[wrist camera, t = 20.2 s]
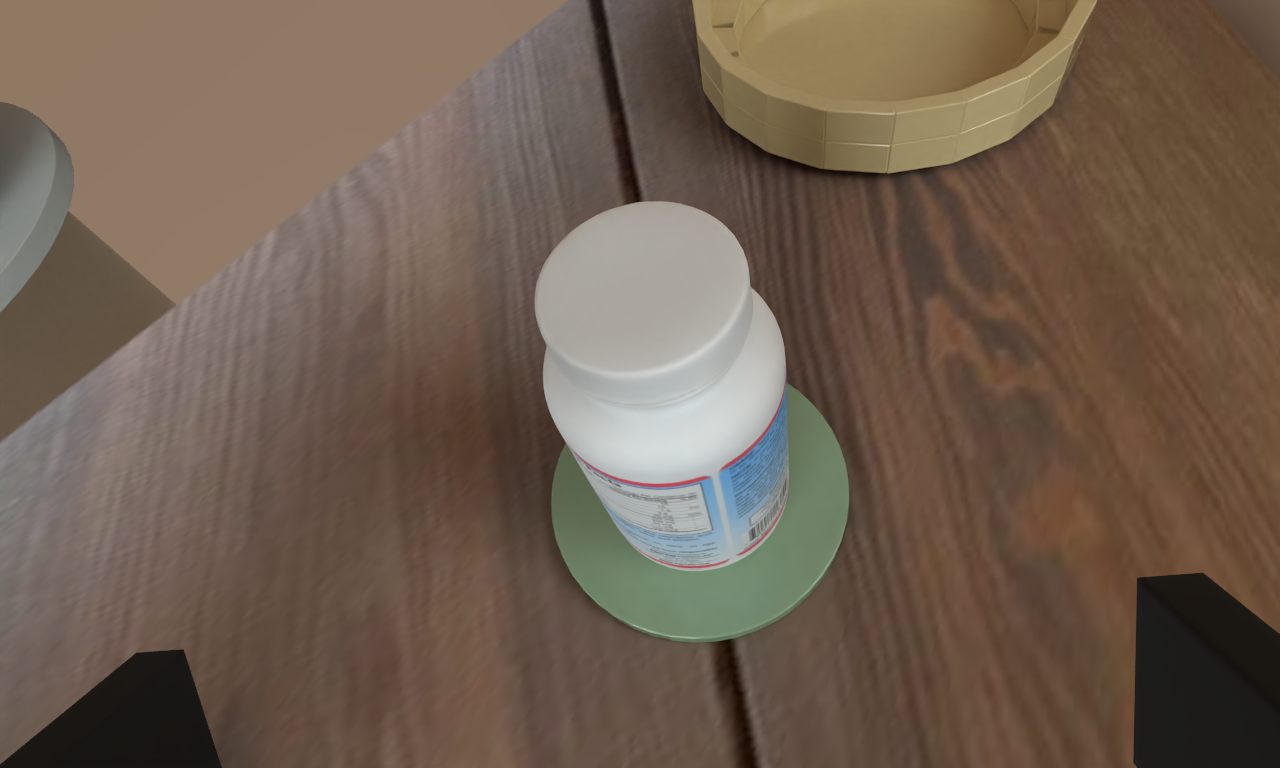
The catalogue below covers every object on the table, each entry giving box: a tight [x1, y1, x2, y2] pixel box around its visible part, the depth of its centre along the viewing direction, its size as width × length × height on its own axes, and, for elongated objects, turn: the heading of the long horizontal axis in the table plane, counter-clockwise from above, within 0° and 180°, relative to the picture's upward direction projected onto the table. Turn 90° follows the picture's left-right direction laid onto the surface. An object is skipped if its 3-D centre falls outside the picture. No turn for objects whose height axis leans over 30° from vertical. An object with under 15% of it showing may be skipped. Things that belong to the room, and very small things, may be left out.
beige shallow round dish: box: [692, 0, 1097, 174], centre depth 34 cm, size 16×16×4 cm
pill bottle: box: [535, 201, 789, 571], centre depth 21 cm, size 6×6×11 cm
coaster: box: [551, 384, 849, 643], centre depth 26 cm, size 10×10×1 cm
